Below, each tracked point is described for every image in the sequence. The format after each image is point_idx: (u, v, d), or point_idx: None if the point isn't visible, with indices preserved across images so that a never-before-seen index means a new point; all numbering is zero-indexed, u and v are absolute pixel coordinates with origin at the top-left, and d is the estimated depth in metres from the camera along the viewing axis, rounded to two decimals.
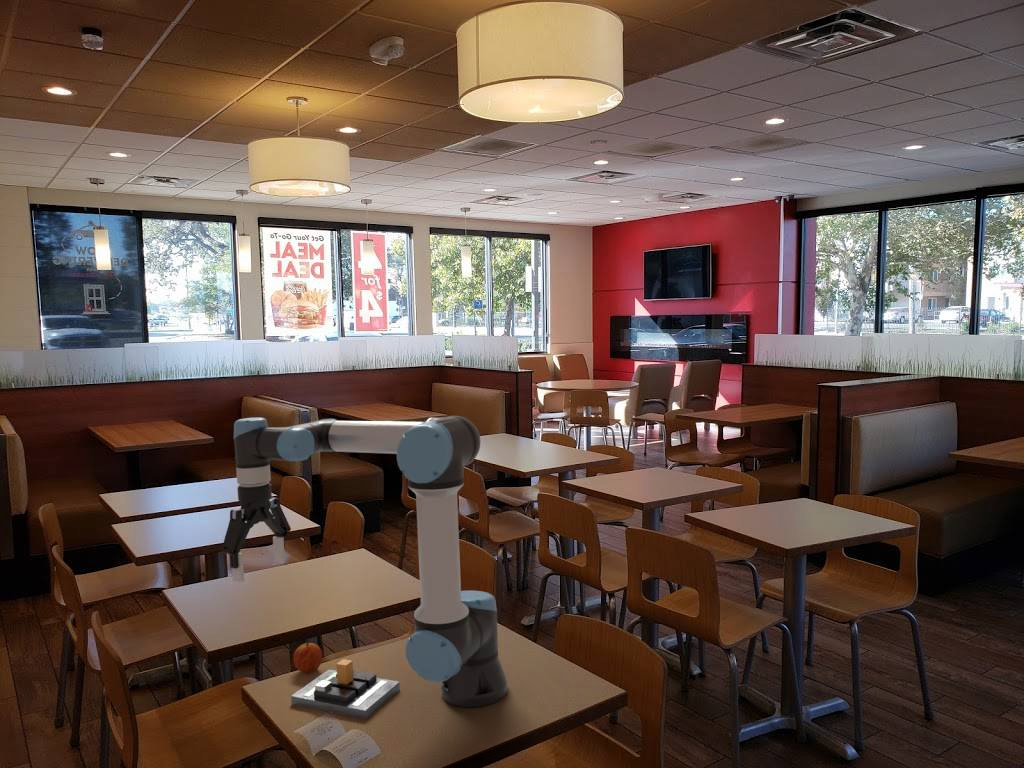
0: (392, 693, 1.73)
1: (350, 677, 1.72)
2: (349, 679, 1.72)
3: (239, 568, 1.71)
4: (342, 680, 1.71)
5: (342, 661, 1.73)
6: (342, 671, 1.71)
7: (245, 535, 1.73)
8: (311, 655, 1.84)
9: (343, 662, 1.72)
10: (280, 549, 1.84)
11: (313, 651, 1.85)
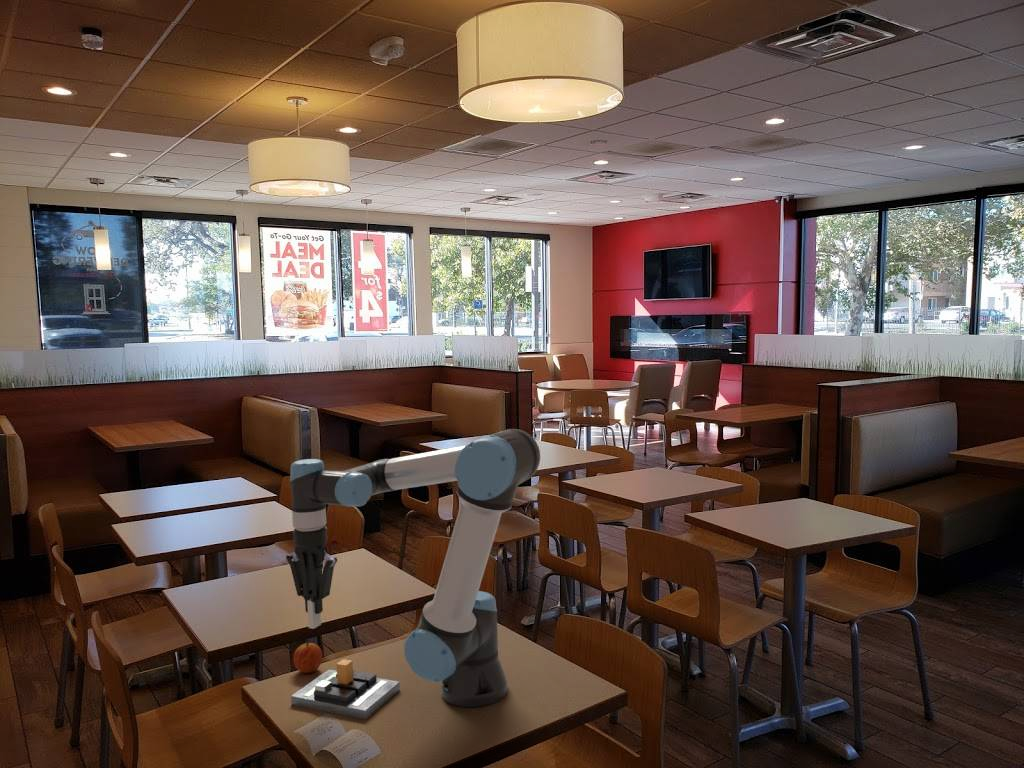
0: (392, 693, 1.73)
1: (350, 677, 1.72)
2: (349, 679, 1.72)
3: None
4: (342, 680, 1.71)
5: (342, 661, 1.73)
6: (342, 671, 1.71)
7: (305, 580, 1.73)
8: (310, 655, 1.84)
9: (343, 662, 1.72)
10: None
11: (313, 651, 1.85)
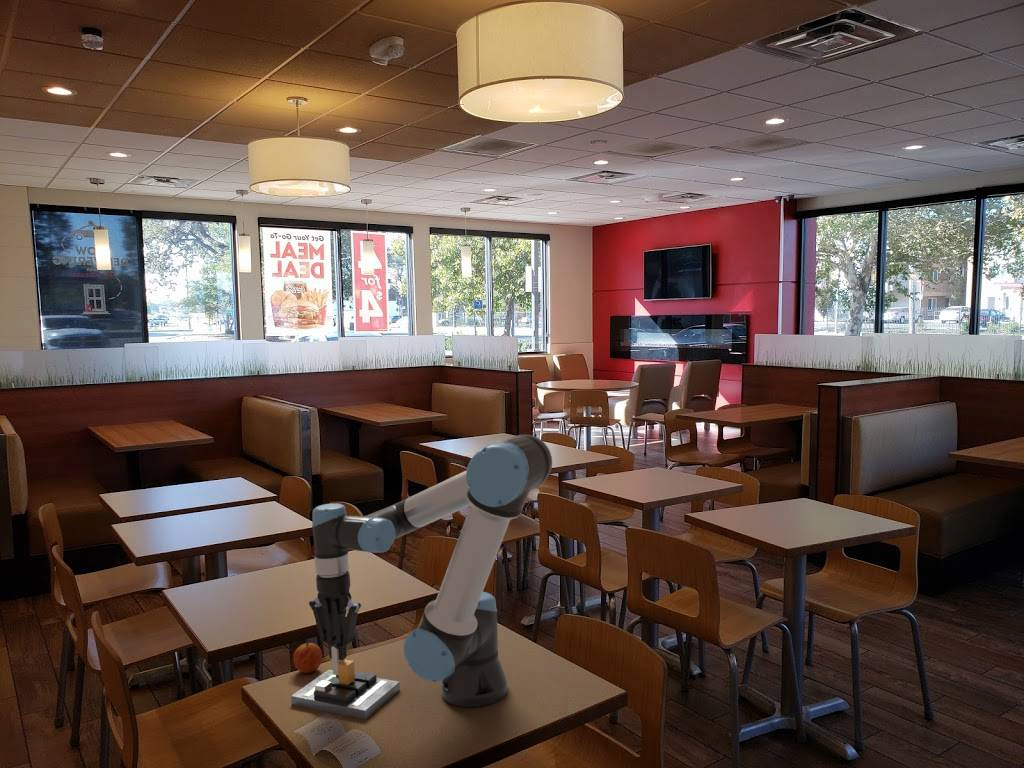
0: (392, 693, 1.73)
1: (351, 677, 1.72)
2: (350, 679, 1.72)
3: None
4: (343, 680, 1.71)
5: (343, 661, 1.73)
6: (344, 671, 1.71)
7: (328, 626, 1.72)
8: (310, 655, 1.84)
9: (344, 662, 1.72)
10: None
11: (313, 651, 1.85)
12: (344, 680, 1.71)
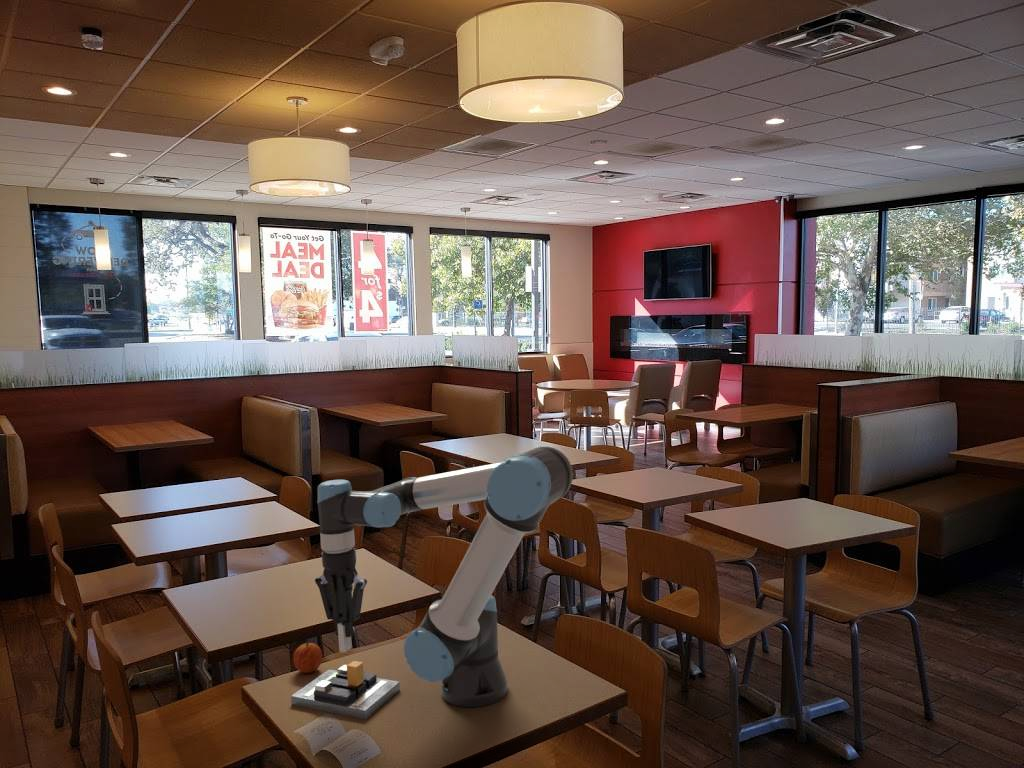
0: (392, 693, 1.73)
1: (360, 679, 1.71)
2: (359, 681, 1.71)
3: None
4: (352, 682, 1.70)
5: (352, 663, 1.72)
6: (353, 673, 1.70)
7: (334, 603, 1.71)
8: (310, 655, 1.84)
9: (353, 663, 1.71)
10: None
11: (313, 651, 1.85)
12: (353, 682, 1.70)
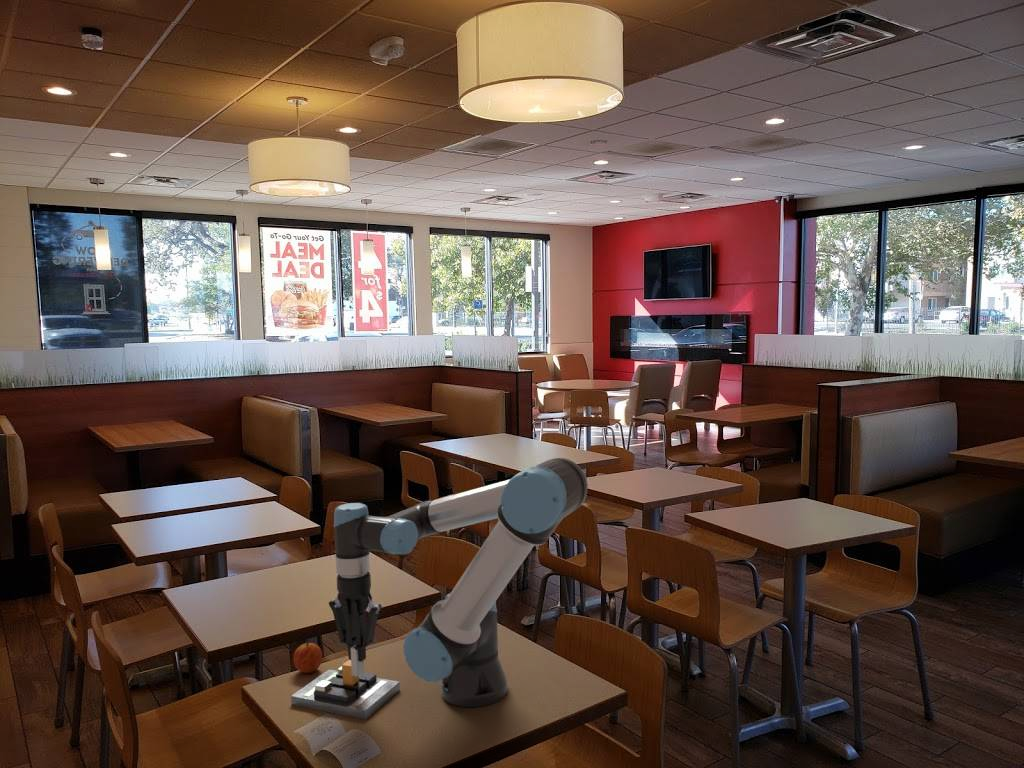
0: (392, 693, 1.73)
1: (356, 678, 1.72)
2: (355, 680, 1.71)
3: None
4: (348, 681, 1.71)
5: (347, 662, 1.72)
6: (348, 672, 1.71)
7: (348, 626, 1.70)
8: (310, 655, 1.84)
9: (348, 663, 1.72)
10: None
11: (313, 651, 1.85)
12: (348, 681, 1.71)
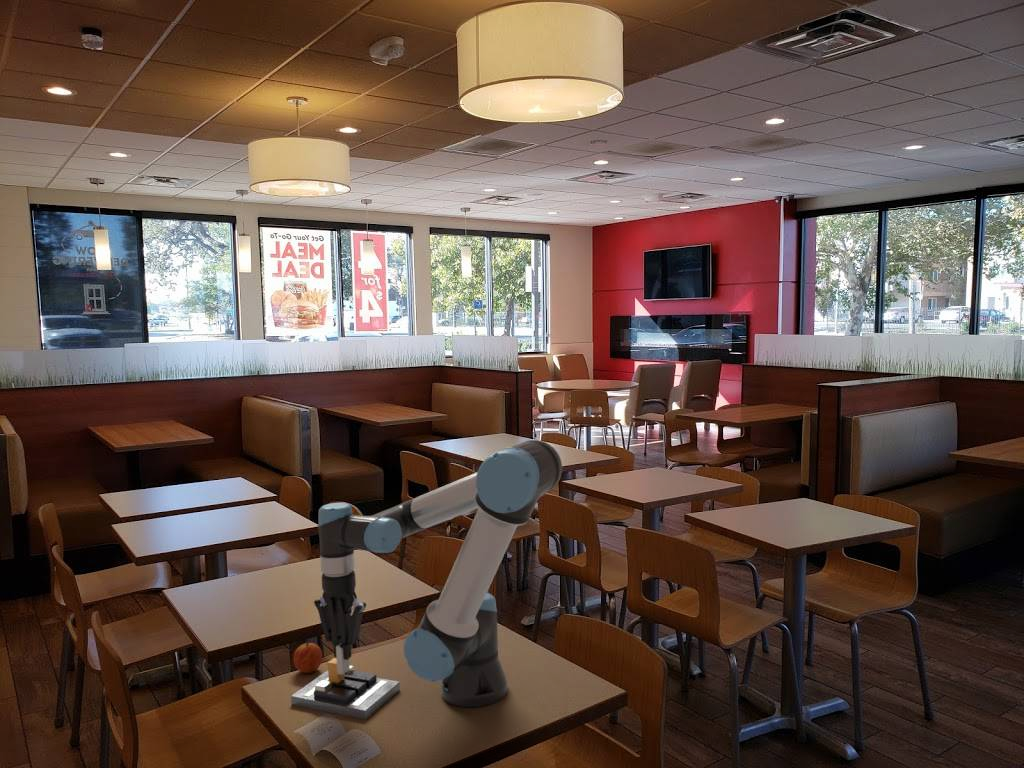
0: (392, 693, 1.73)
1: (341, 675, 1.73)
2: (340, 677, 1.73)
3: None
4: (333, 678, 1.72)
5: (333, 660, 1.74)
6: (333, 670, 1.72)
7: (333, 625, 1.71)
8: (310, 655, 1.84)
9: (334, 660, 1.73)
10: None
11: (313, 651, 1.85)
12: (334, 678, 1.72)
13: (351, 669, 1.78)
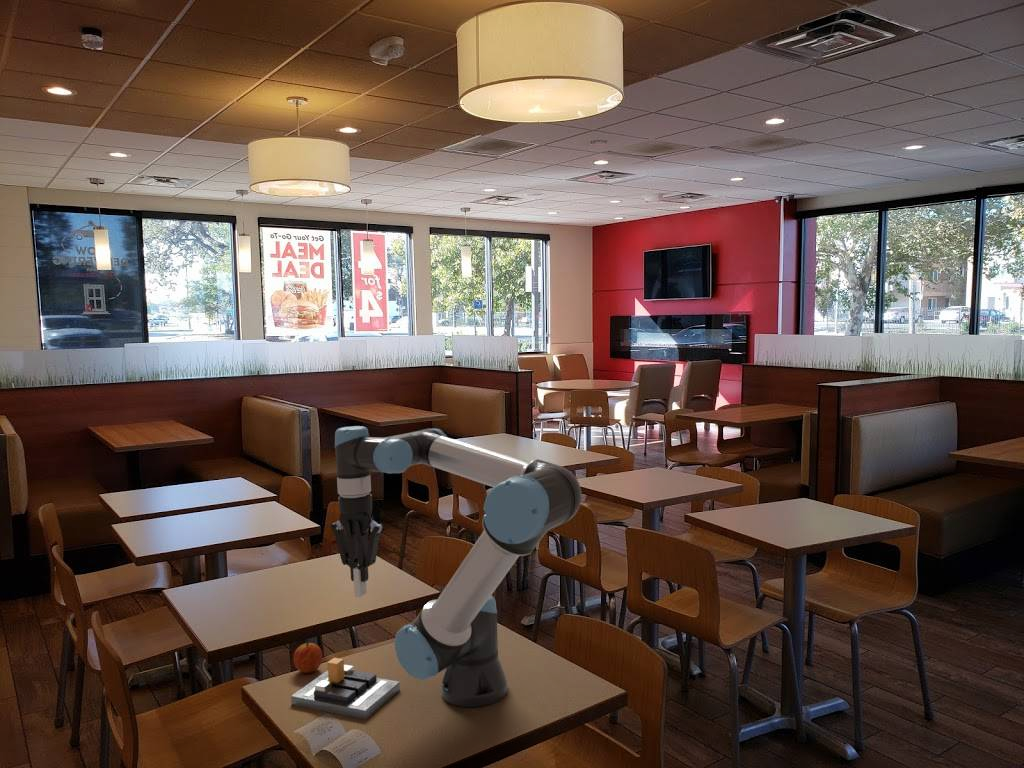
0: (392, 693, 1.73)
1: (341, 675, 1.73)
2: (340, 677, 1.73)
3: None
4: (333, 678, 1.72)
5: (333, 659, 1.74)
6: (333, 670, 1.72)
7: (350, 548, 1.72)
8: (310, 655, 1.84)
9: (334, 660, 1.73)
10: None
11: (313, 651, 1.85)
12: (334, 678, 1.72)
13: (351, 669, 1.78)
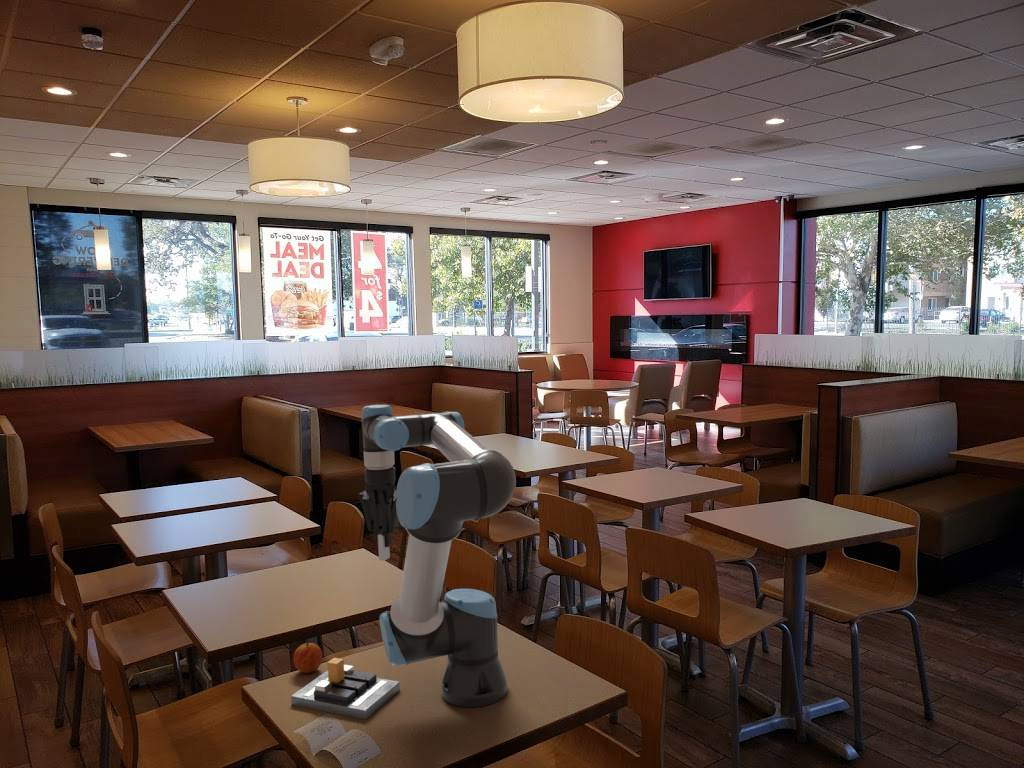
0: (392, 693, 1.73)
1: (341, 675, 1.73)
2: (340, 677, 1.73)
3: None
4: (333, 678, 1.72)
5: (333, 659, 1.74)
6: (333, 670, 1.72)
7: (375, 515, 1.88)
8: (311, 655, 1.84)
9: (334, 660, 1.73)
10: None
11: (313, 651, 1.85)
12: (334, 678, 1.72)
13: (351, 669, 1.78)
